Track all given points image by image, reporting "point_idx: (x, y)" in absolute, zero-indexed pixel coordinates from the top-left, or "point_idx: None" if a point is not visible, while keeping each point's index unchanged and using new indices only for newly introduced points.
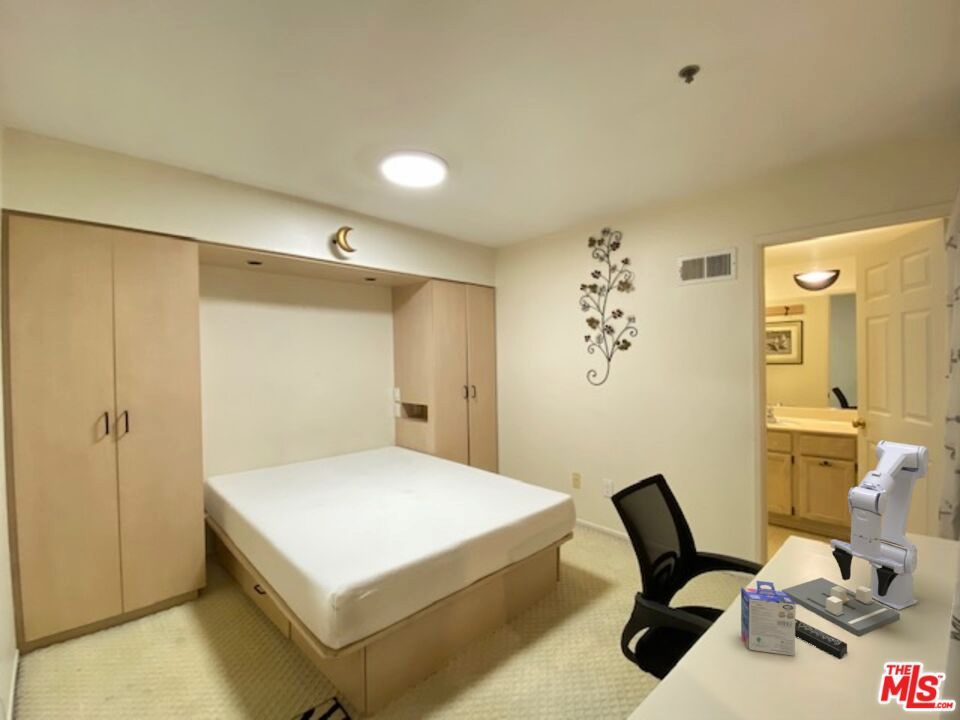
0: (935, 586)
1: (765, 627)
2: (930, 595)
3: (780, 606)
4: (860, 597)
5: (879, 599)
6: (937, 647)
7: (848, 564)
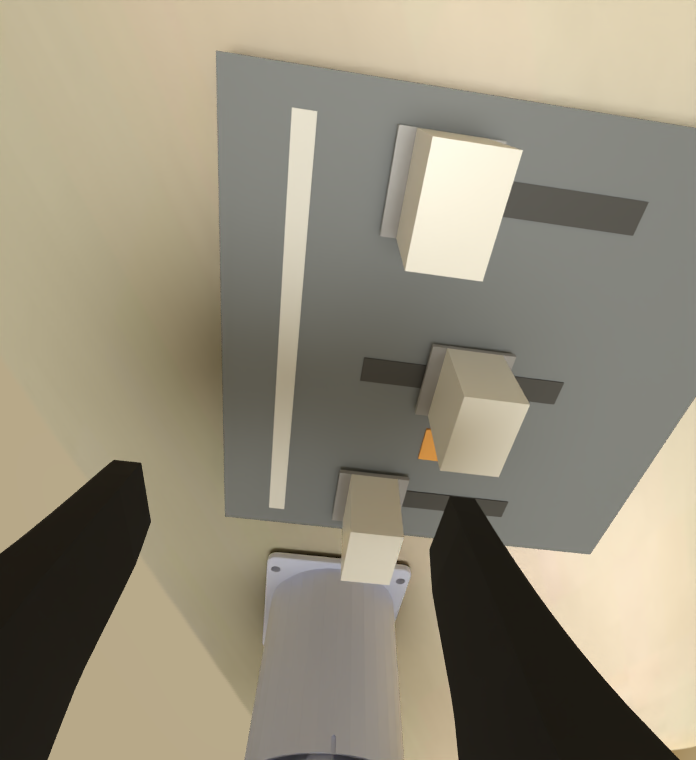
0: None
1: None
2: None
3: None
4: (376, 493)
5: None
6: (24, 389)
7: (475, 728)
